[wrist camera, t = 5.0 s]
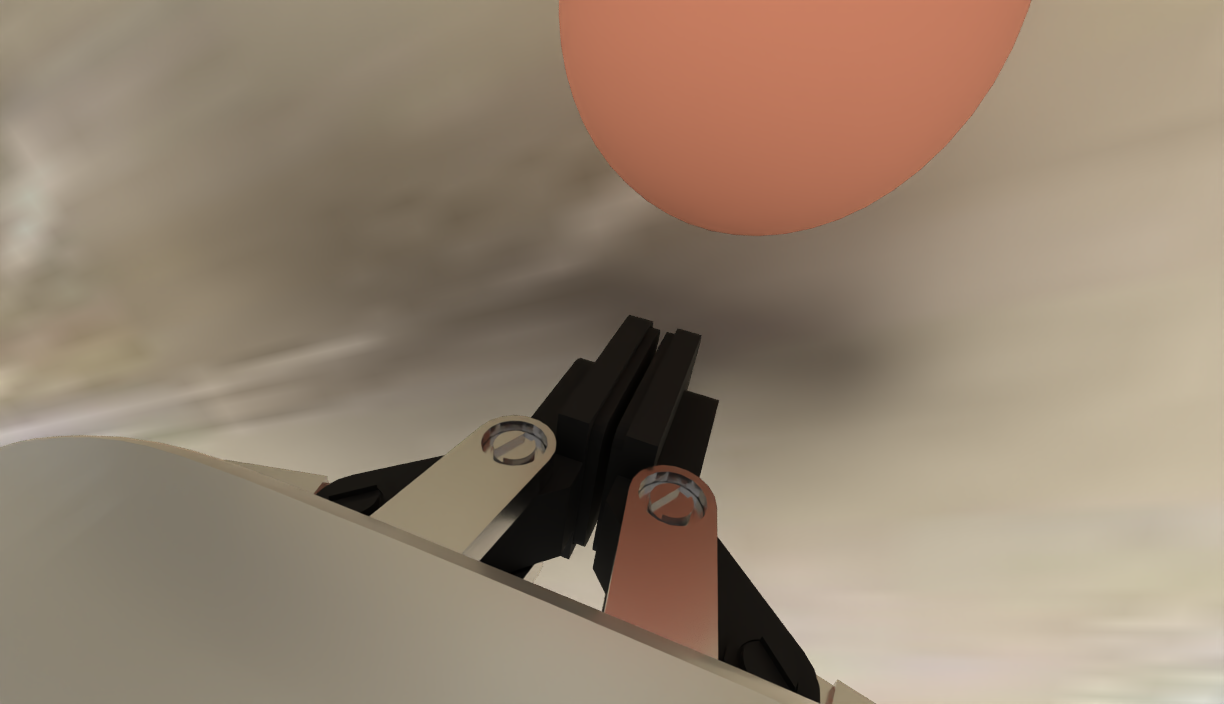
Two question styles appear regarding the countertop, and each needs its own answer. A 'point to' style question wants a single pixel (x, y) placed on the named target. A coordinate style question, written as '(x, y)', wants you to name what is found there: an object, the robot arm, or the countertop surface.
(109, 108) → the countertop surface
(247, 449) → the countertop surface
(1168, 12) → the countertop surface
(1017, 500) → the countertop surface
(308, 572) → the robot arm
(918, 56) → the ball
